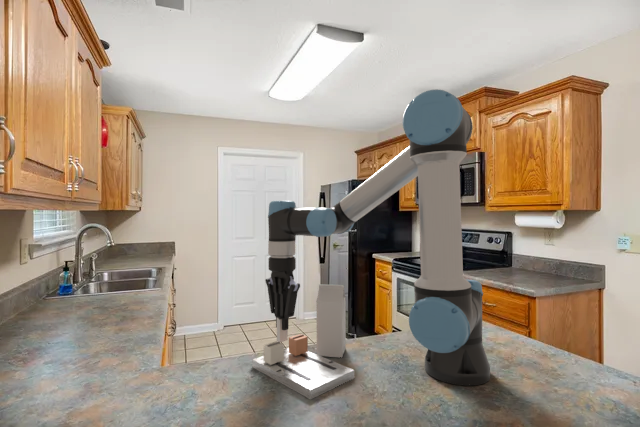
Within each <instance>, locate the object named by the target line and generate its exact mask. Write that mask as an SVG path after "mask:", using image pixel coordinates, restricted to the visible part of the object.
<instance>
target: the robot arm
mask: <svg viewBox="0 0 640 427" xmlns="http://www.w3.org/2000/svg"><path fill="white" fill-rule="evenodd" d="M402 128H403V131H404V134H405V136H406V138H407V139H408V140H409V145H408V146H407V147H406V148H405V149H403V150H402V151H401V152H400V153H398V155H396V156H395V157H393V158H392V159H391V160H390V161H389V162H388V163H386V164H384V166H382V167H381V168H380V169H378V170H377V171H376V172H375V173H373V174H372V175H371V176H369V178H367V179H366V180H365V181H364V182H362V183H360V184H359V185H358V186H357V187H355V189H353V190H352V191H351V192H350V193H348V194H347V195H346V196H344V198H342V199H341V200H340V201H338V202H337V203H336V204H335V205H333V206H331V207H321V206H318V207H297V206H296V202H295V201H294V200H272V201H270V202H269V204H268V214H267V218H268V219H267V220H268V222H267V223H268V253H267V254H268V255H269V258H268V270H269V271H270V272H271V273H270V277H268V278H265V280H264V281H265V285H266V287H267V291H268V292H267V293H268V299H269V300H268V301H269V307H270V308H269V309H270V313H271V314H274V317H275V327H276V341H277V342H280V343H284V342H286V341H289V336H288V334H289V333H288V330H289V320H290V318H291V317H294V316H295V310H296V304H297V298H298V292H299V290H300V288H301V284H300V283H296V281H295V276H294V271H296V268H297V267H296V266H297V265H296V262H297V261H296V256H295V255H296V238H297V236H302V237H303V236H304V237H305V236H307V237H308V236H309V237H316V238H320V237H321V238H323V237H330V236H332V235H335V234H337V235H341V234H342V235H343V234H345V233H347V232H349V231H351V229H352V228H353V227H354V225H355V223H356V222H358V220H360V219H362V218H363V217H364V216H366V215H367V214H369V213H370V212H371V211H372V210H374V209H375V208H376V207H378V206H380V204H382V203H383V202H385V201H386V200H387V199H389V198H390V197H391V196H393V195H394V194H395V193H397V192H398V191H399V190H401V189H402V188H403V187H405V186H407V184H409V183H410V182H412V181H413V180H414V179H416V178H417V187H418V188H417V190H418V192H417V194H418V218H419V219H418V221H419V222H418V224H419V247H420V248H419V249H420V250H419V254H420V255H419V256H420V276H419V278H417V279H416V281H414V286H413V288H414V304H413V305H412V307H411V308H410V311H409V315H408V325H409V329H410V331H411V334H412V335H413V336H414V339H415V340H416V341H418V343H419V344H420V345H421V346H423V348H425V349H427V351H426V354H425V357H424V370H425V372H426V373H427V374H428V375H429V376H430V377H432V378H434V379H436V380H439V381H441V382H444V383H447V384H451V385H458V386H466V387H467V386H468V387H470V386H479V385H483V384H486V383H487V382H489V381H490V379H491V366H490V363H489V360H488V357H487V354H486V351H485V347H484V346H483V345H484V344H483V295H484V292H483V286H482V283H481V281H478V280H475V279H468V278H465V276H464V270H463V269H464V265H463V263H464V262H463V234H462V231H463V230H462V228H463V227H462V205H461V204H462V203H461V176H460V173H461V172H460V164H461V162H462V161H463V160H464V159H465V157H466V156H467V155H468V153H467V151H468V150H467V144H468V143H469V141H470V139H471V137H472V133H473V128H474V127H473V121H472V117H471V116H470V114H469V113H468V111H467V110H466V109H465V107H464V106H463V105H462V103H461V101H460V100H459V98H458V97H456V95H454V94H452V93H450V92H449V91H446V90H443V89H429V90H426V91H424V92H421V93H419V94H418V95H416V96H415V97H414V98H413V99H412V100H410V102H409V103H408V104H407V106H406V108H405V110H404V113H403V115H402Z"/></svg>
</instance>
